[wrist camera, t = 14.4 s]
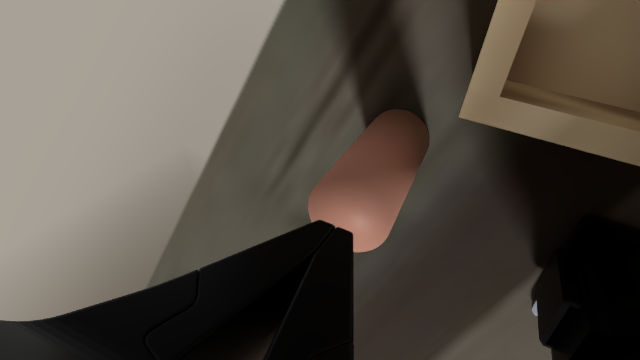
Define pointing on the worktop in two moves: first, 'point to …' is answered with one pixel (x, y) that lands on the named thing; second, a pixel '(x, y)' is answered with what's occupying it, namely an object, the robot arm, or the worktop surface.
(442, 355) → the worktop surface
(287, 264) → the robot arm
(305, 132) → the worktop surface
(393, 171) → the key peg
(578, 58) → the wooden box
